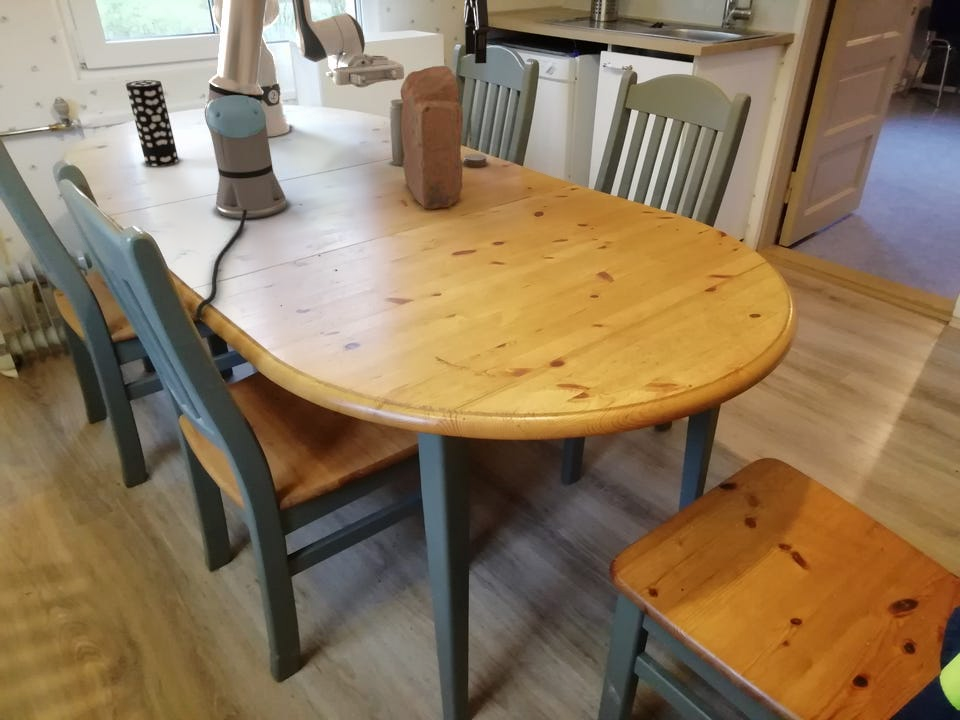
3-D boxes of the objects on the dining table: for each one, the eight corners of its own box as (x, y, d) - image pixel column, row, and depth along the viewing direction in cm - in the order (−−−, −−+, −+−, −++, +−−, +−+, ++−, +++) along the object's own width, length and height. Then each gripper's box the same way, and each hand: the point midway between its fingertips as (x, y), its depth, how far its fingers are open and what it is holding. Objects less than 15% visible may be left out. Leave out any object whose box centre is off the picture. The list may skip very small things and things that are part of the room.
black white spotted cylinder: (184, 157, 190) (167, 80, 179) (169, 166, 183) (151, 87, 172) (155, 156, 190) (136, 79, 179) (139, 165, 183) (119, 86, 172)
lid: (473, 159, 192) (473, 152, 191) (490, 163, 189) (490, 156, 187) (459, 164, 188) (459, 157, 187) (476, 168, 185) (476, 161, 184)
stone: (472, 206, 159) (470, 76, 145) (424, 211, 156) (418, 79, 142) (446, 181, 177) (443, 63, 162) (403, 185, 174) (396, 65, 159)
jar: (409, 166, 186) (406, 104, 177) (390, 165, 187) (386, 102, 178) (414, 160, 190) (412, 99, 181) (396, 159, 191) (392, 98, 182)
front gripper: (503, -36, 152) (500, 66, 164) (481, -42, 173) (480, 50, 184) (470, -36, 151) (469, 67, 163) (451, -42, 172) (452, 50, 183)
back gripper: (323, 61, 190) (341, 69, 180) (390, 55, 199) (412, 63, 189) (325, 85, 194) (344, 94, 184) (392, 78, 203) (413, 87, 193)
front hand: (475, 58), depth 174 cm, fingers open, 13 cm apart
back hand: (379, 78), depth 187 cm, fingers open, 8 cm apart
